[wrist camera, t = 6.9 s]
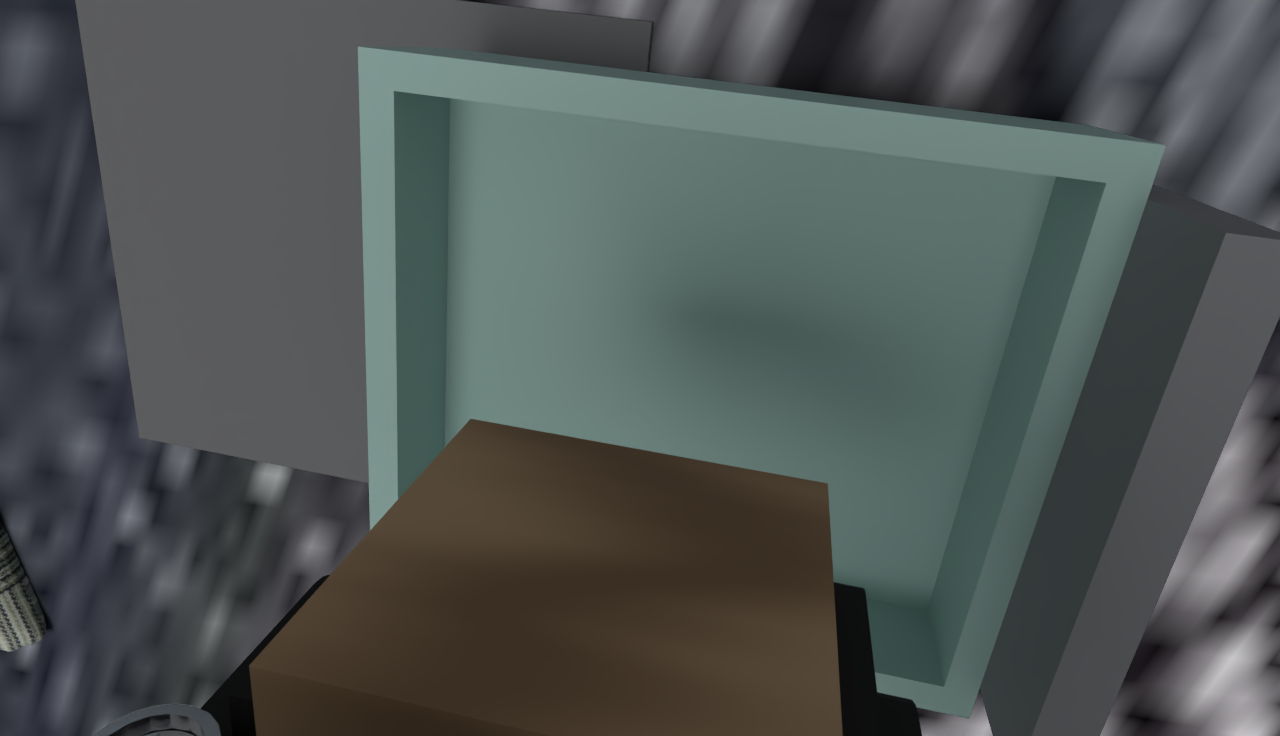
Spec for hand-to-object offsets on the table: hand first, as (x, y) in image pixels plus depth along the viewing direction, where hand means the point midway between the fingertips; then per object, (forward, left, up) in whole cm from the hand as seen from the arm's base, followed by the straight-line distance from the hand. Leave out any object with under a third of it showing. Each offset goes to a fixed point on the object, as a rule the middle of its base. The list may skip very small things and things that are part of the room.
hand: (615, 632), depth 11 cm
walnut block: (0, 0, -1) cm, 1 cm away
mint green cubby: (0, 0, -15) cm, 15 cm away
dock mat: (+12, 0, -15) cm, 19 cm away
